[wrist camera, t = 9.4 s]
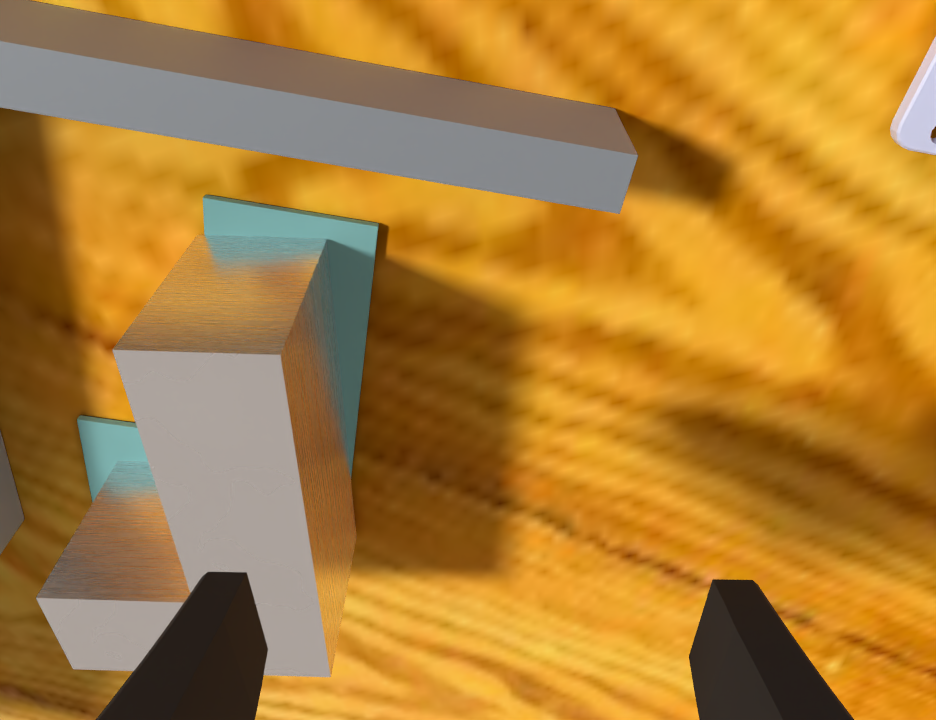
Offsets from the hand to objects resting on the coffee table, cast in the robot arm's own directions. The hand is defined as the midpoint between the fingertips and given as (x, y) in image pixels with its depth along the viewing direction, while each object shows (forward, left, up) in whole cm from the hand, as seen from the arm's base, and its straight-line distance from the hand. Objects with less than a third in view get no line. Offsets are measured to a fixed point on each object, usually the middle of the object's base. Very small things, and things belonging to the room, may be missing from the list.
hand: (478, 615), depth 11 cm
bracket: (+7, +5, -9) cm, 12 cm away
